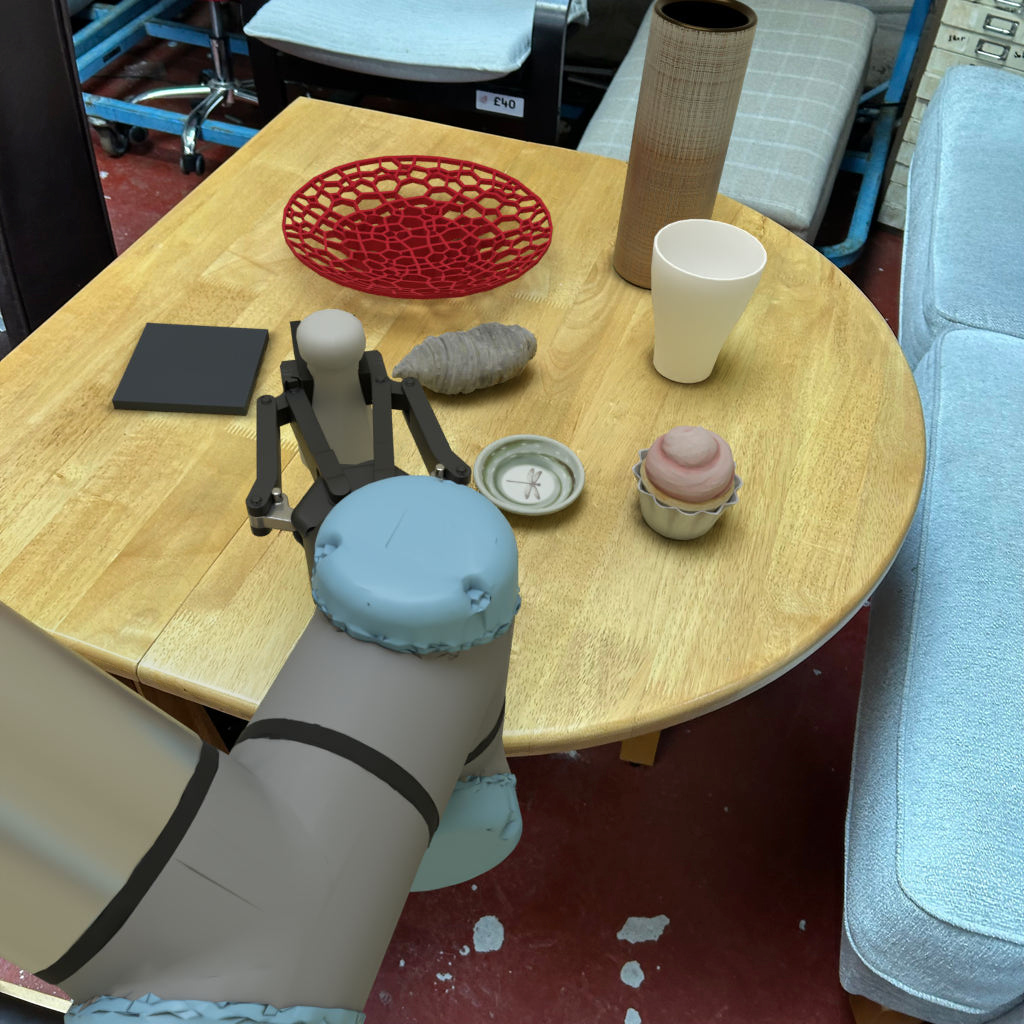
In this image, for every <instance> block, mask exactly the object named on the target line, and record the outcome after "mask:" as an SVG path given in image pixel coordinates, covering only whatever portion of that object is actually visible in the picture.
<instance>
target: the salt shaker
mask: <svg viewBox="0 0 1024 1024" xmlns="http://www.w3.org/2000/svg"><path fill="white" fill-rule="evenodd" d="M354 315H355V314H352V313H351V312H348V311H345V310H343V309H340V308H325V309H321V310H316V311H313V312H311V314H309V315H308V316H306V317H304V318H303V319H302V320H301V323H300V325H299V326H298V328H297V335H296V338H297V343H298V348H299V352H300V355H301V357H302V359H304V360H305V361H306V362H307V368H308V369H309V371H310V374H311V375H312V376H313V382H314V390H313V400H312V409H313V411H314V413H315V415H316V418H317V420H318V422H319V424H320V426H321V429H322V431H323V433H324V435H325V437H326V440H327V442H328V444H329V446H330V449H333V450H334V452H335V455H336V457H337V459H338V461H339V463H340V464H353V465H356V464H359V463H362V462H365V461H368V460H374V452H373V413H372V405H366V404H365V400H364V396H363V393H362V389H361V385H360V381H359V374H358V369H359V367H358V366H359V361H360V360H361V358H362V356H363V353H364V351H366V348H367V337H366V334H365V330H364V326H363V323H362V321H361V320H360V319H359V318H357V317H356V315H355V316H354ZM297 447H298V452H299V457H300V460H301V463H302V465H303V466H305V468H306V469H307V470H309V468H308V466H307V463H306V461H305V459H304V456H303V454H302V451H301V449H300V447H299V444H298V443H297Z"/></svg>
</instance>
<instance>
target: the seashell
mask: <svg viewBox="0 0 1024 1024" xmlns="http://www.w3.org/2000/svg"><path fill="white" fill-rule="evenodd" d="M537 341H538V340H537V337H536V336H535V334H534V333H533V332H532V331H530V330H529V329H527V328H526V327H523V326H521V325H520V324H516V323H515V324H508V325H506V324H503V323H500V322H498V321H491V322H482V323H480V324H479V325H476V326H473V327H472V328H469V329H468V330H466V331H464V330H458V331H457V330H455V331H446V332H444V333H442V334H439V335H437V336H434V335H428V336H426V337H425V338H424V339H423V340H422V342H421V344H420V343H419V344H416V345H415V346H413V348H412V349H411V350H410V352H409V353H406V355H404V356H403V358H402V359H401V360H400V361H399V362H398V363H397V364H396V365H394V367H393V369H392V373H391V377H392V378H393V379H401V380H403V379H404V378H406V377H414V378H416V379H418V380H419V382H420V384H421V386H422V387H426V388H427V389H428V390H431V391H433V392H434V393H441V394H445V395H448V396H451V395H458V394H459V393H462V394H463V395H467V394H469V393H472V392H474V391H475V390H476V389H477V390H481V389H486V388H489V387H493V386H494V385H500V384H503V383H505V382H507V381H509V380H510V379H512V378H516V377H519V376H520V375H521V374H522V373H523V371H524V370H525V369H526V367H527V365H528V363H529V362H530V361H531V360H533V359H534V358H535V356H536V354H537V351H538V342H537Z"/></svg>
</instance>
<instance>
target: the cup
mask: <svg viewBox="0 0 1024 1024" xmlns="http://www.w3.org/2000/svg"><path fill="white" fill-rule="evenodd" d="M767 263H768V253H767V250H766V249H765V247H764V244H762V242H760V241H759V240H758V238H757V237H756V236H754V235H753V234H751V233H749V232H748V231H746V230H744V229H742V228H740V227H738V226H735V225H733V224H730V223H726V222H723V221H720V220H719V221H718V220H713V219H711V220H706V219H689V220H682V221H677V222H674V223H671V224H668V225H667V226H665V227H664V228H662V229H661V230H660V231H659V232H658V233H657V235H656V236H655V238H654V246H653V255H652V265H651V289H650V290H651V305H652V312H653V313H652V314H653V325H654V326H653V327H654V328H653V329H654V346H653V347H654V348H653V360H652V363H653V367H654V369H656V371H657V372H658V373H659V374H660V375H661V376H663V377H664V378H666V379H668V380H670V381H673V382H676V383H682V384H695V383H700V382H703V381H704V380H706V379H708V377H710V376H711V374H712V372H713V369H714V367H715V364H716V361H717V359H718V358H719V354H720V352H721V350H722V348H723V347H724V345H725V343H726V342H727V340H728V338H729V336H730V335H731V333H732V331H734V328H735V327H736V325H737V323H738V322H740V319H741V318H742V317H743V314H744V312H745V311H746V309H747V306H748V305H749V303H750V301H751V299H752V297H753V296H754V293H755V292H756V290H757V288H758V286H759V284H760V281H761V278H762V276H763V275H764V274H763V273H764V271H765V269H766V266H767Z"/></svg>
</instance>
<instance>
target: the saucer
mask: <svg viewBox="0 0 1024 1024" xmlns="http://www.w3.org/2000/svg"><path fill="white" fill-rule="evenodd" d="M472 476H473V481H474V482H473V483H474V484H475V487H476V489H477V491H478V492H479V493H480V494H482V495H483V496H485V497H486V498H487V499H489V500H490V501H491V502H492V503H493V504H494V505H495V506H496V507H497V508H498V509H500V510H503V511H505V512H508V513H512V514H516V515H522V516H529V517H531V516H532V517H533V516H535V517H536V516H545V515H550V514H553V513H557V512H559V511H561V510H564V509H566V508H567V507H569V506H571V505H572V504H573V503H574V502H576V500H577V499H578V498H579V496H580V495H581V493H582V492H583V490H584V487H585V484H586V483H585V482H586V472H585V468H584V464H583V463H582V461H581V459H580V457H578V455H577V454H576V452H574V451H573V450H572V449H571V448H570V447H569V446H567V445H566V444H564V443H562V442H561V441H558V440H556V439H554V438H551V437H548V436H544V435H539V434H532V433H531V434H530V433H521V434H511V435H508V436H505V437H502V438H499V439H496V440H494V441H493V442H491V443H489V444H488V445H487V446H485V447H484V448H483V449H482V450H481V451H480V452H479V454H478V455H477V457H476V458H475V461H474V463H473V469H472Z"/></svg>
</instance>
